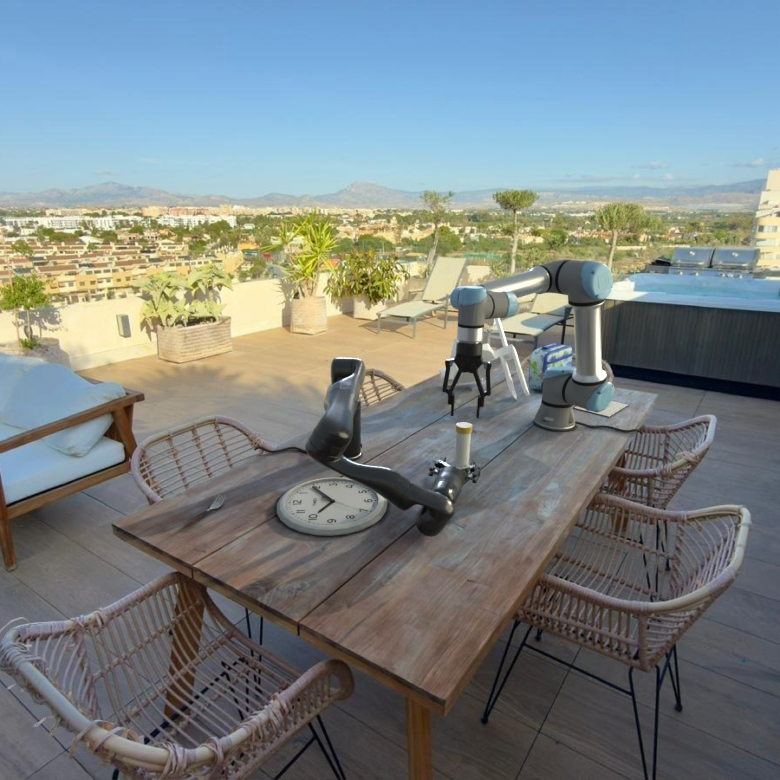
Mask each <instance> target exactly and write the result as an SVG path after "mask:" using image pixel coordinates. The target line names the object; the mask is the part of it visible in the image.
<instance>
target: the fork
mask: <svg viewBox="0 0 780 780" xmlns="http://www.w3.org/2000/svg"><path fill="white" fill-rule="evenodd" d="M226 497H227V495H225V494H222V493H221V494H218V496H217V497H216V498H215V499H214V501H213V503H212V504H211V505H210V506H209V508H208V509H206V510H204V511H202V512H201V513H200V514H198V515H196V516H195V517H194V518H193V519H191V520H190V521H189V522H188V523H186V524H185V525H184V526H183V527H182V529H186V528H188V527H189V526H190V525H191V526H192V524H194V523H195V522H197V521H199V520H200V519H202V518H203V517H204V516H205V515H206V514H207V513H208V512H209V511H211V510H215V509H216V510H217V509H219V508H220V507H221V506H222V505H223V503H224V501H225V499H226Z"/></svg>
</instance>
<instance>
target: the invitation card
mask: <svg viewBox="0 0 780 780" xmlns="http://www.w3.org/2000/svg"><path fill="white" fill-rule="evenodd" d="M628 406H629V404H627V403H623V402H618V401H614V400H612V401H611V402H610V404H609V405H608V407H607V408H606V409H604V410H603V411H601V412H593V411H587V410H586V409H583V408H580V407H578V406H574V407H573V409H575V410H581V411H584V412H587V413H593V414H596V415H600V416H604V417H608V418H609V417H611V416H613V415H614V414H616V413H617V412H619V411H621V410H623V409H624V408H626V407H628Z"/></svg>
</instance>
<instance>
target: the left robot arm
mask: <svg viewBox="0 0 780 780" xmlns="http://www.w3.org/2000/svg"><path fill="white" fill-rule="evenodd" d="M366 371H367V370H366V364H365V362H364V361H363V360H362V359H361V358H358V357H334V358H333V359H332V360H331V363H330V383H331V385H330V387H329V388H328V389H327V392H326V393H325V397H324V400H323V409H324V413H323V415H322V416H321V418H320V419H319V420H318V422H317V423H316V425H314V427H313V430H312V431H311V433H310V435H309V436H308V438H307V440H306V442H305V444H304V448H305V449H303V448H300V447H297V446H288V447H284V448H280V449H276V450H270V449H267V448H265V447H264V446H256V447H254V448H253V451H257V450H262V451H264V452H267V453H269V454H270V453H271V454H276V453H280V452H281V453H282V452H284V451H288V450H297V451H300V452H302V453H306V454H307V455H308V456H309V457H310V458H311V459H312V460H314V461H315V462H317V463H318V464H319V465H322V466H323V467H325V468H327V469H329V470H331V471H333V472H335V473H337V474H339V475H341V476H343V477H344V478H349V479H351V480H353V481H355V482H358V483H360V484H362V485H364V486H366V487H367V488H369V489H371V490H373V491H374V492H376V493H377V494H379V495H380V496H382V497H383V498H385V499H386V500H387V502H389V503H391V504H392V505H393V506H395V507H396V508H397V509H399V510H401V511H404V512H405V511H408V510H410V509H411V508H413V506H416V505H417V506H421V507H420V509H419V510H418V511H417V513H416V516H415V526H416V529H417V530H418V532H419V533H420V534H422V535H423V536H425V537H436V536H437V535H439V534H440V533H441V532H442V531H443V530H444V529H445V527H446V526H447V525H448V524H449V523H450V521H451V520H452V519H453V518H454V516H455V514H456V508H455V505H456V502H457V500H458V498H459V497H460V495H461V493H462V491H463V487H464V485H465V482H466V481H468V480H470V481H471V482H472V484H477V483H478V481H479V479H480V477H481V468H482V467H481V466H477V461H475V460H474V459H471V462H470V463H469V466H467V465H465V466H462V467H455V465H450V464H448V463H447V455H443V456H442V457H440V458H439V460H435V459H432V460H431V462H430V464H429V467H428V477H433V476H434V475H435V476H436V477H435V480H434V481H433V484H432V487H431V489H429V488H426V487H423V486H421V485H418V484H415V483H414V482H413V481H411V479H408V478H407V477H406V476H404V475H402V474H401V473H400V472H399V471H397V470H395V469H392V468H389V467H387V466H380V465H370V464H364V463H360V462H356V461H354V460H357V459H359V458H360V457H361V456H362V449H363V444H362V427H361V426H362V400H361V398H360V394H361V393H360V392H361V389H362V387H363V385H364V382H365V379H366V373H367V372H366Z"/></svg>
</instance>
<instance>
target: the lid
mask: <svg viewBox="0 0 780 780" xmlns="http://www.w3.org/2000/svg"><path fill="white" fill-rule="evenodd" d="M473 426H474V425H473V423H470V422H466V421H459V422H457V423H456V424H455V432H456V433H457V432H458V433H461V434H469V433H471V434H472V433H473Z"/></svg>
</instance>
